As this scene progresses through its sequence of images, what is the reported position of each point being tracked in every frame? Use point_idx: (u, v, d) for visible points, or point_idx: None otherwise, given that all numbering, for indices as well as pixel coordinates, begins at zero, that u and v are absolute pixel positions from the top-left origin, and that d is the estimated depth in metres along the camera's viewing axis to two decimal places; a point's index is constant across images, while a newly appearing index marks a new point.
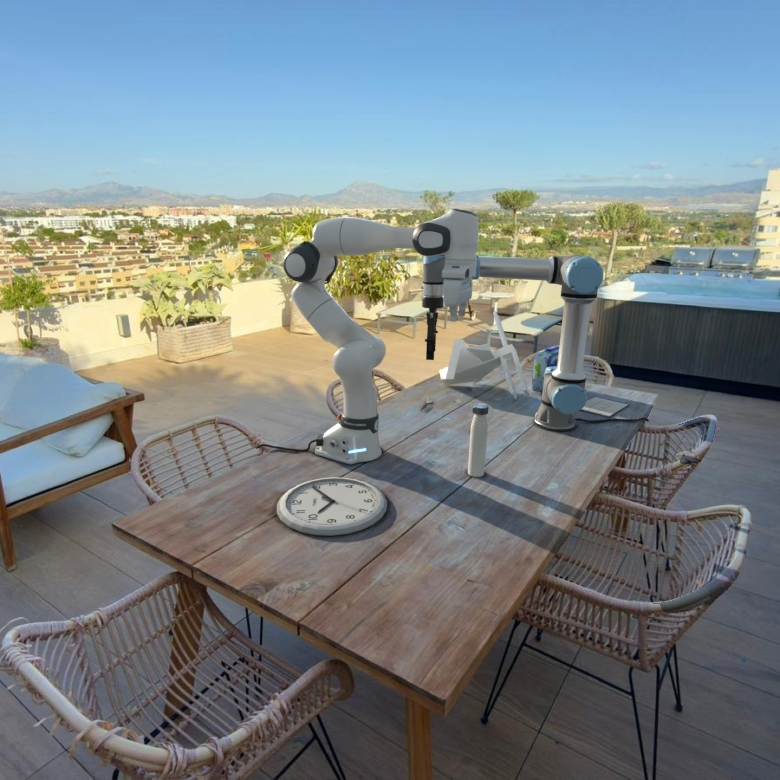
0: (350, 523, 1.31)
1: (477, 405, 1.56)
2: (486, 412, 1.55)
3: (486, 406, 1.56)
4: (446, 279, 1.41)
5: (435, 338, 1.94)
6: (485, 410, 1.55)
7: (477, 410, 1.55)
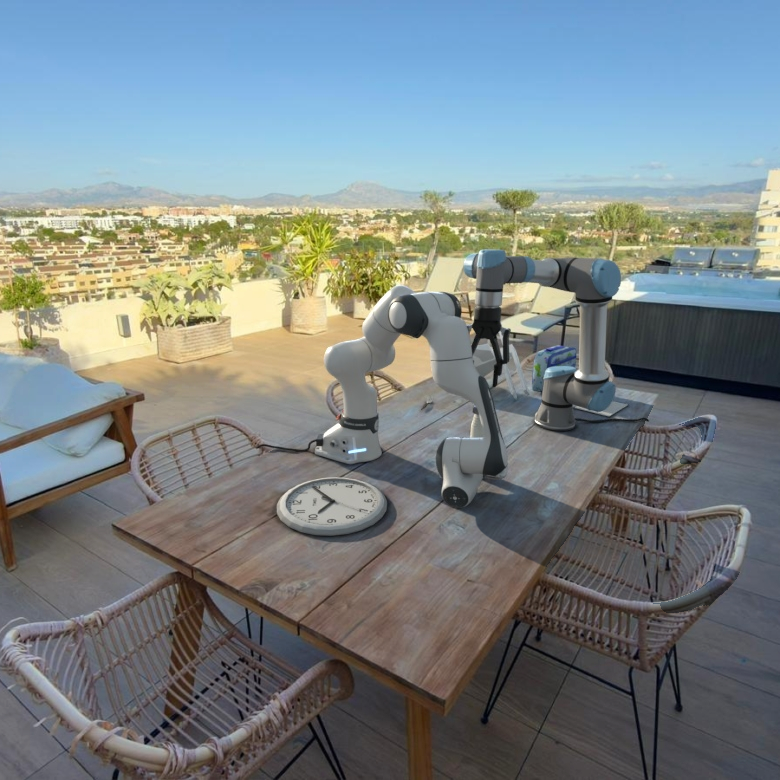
0: (350, 523, 1.31)
1: None
2: None
3: None
4: None
5: None
6: None
7: (477, 410, 1.55)
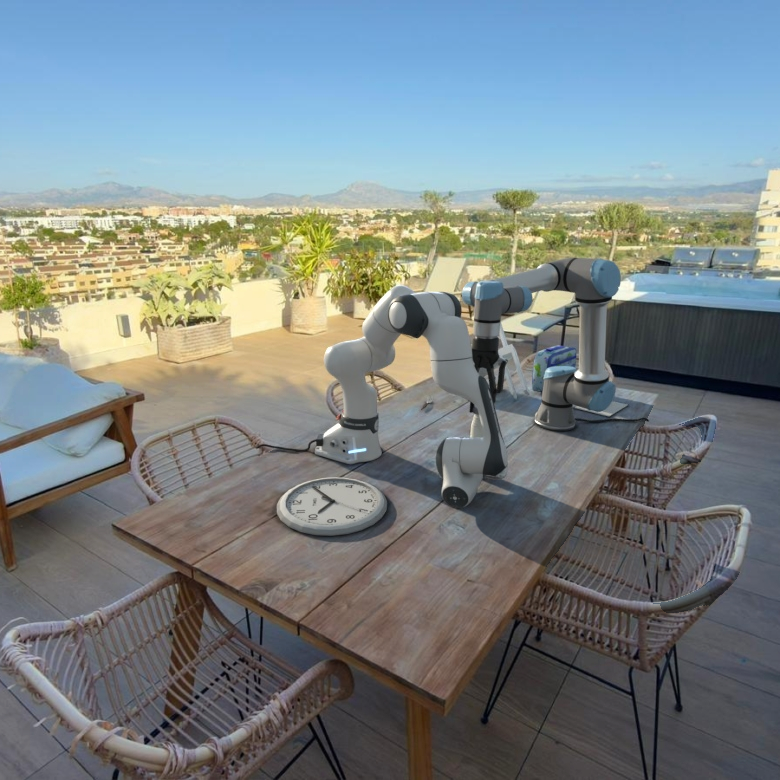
0: (350, 523, 1.31)
1: None
2: None
3: None
4: None
5: None
6: None
7: (477, 410, 1.55)
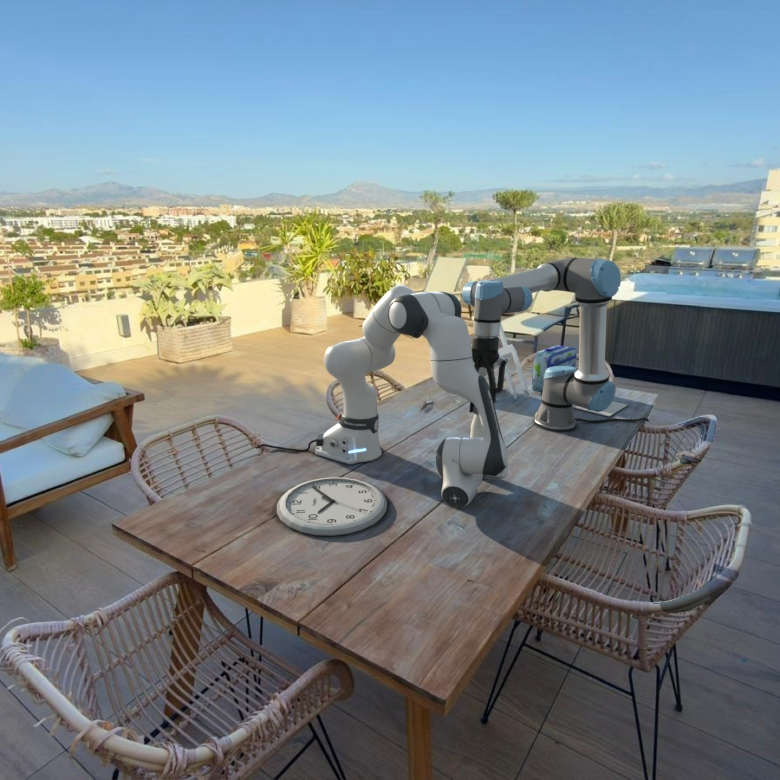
0: (350, 523, 1.31)
1: None
2: None
3: None
4: None
5: None
6: None
7: None
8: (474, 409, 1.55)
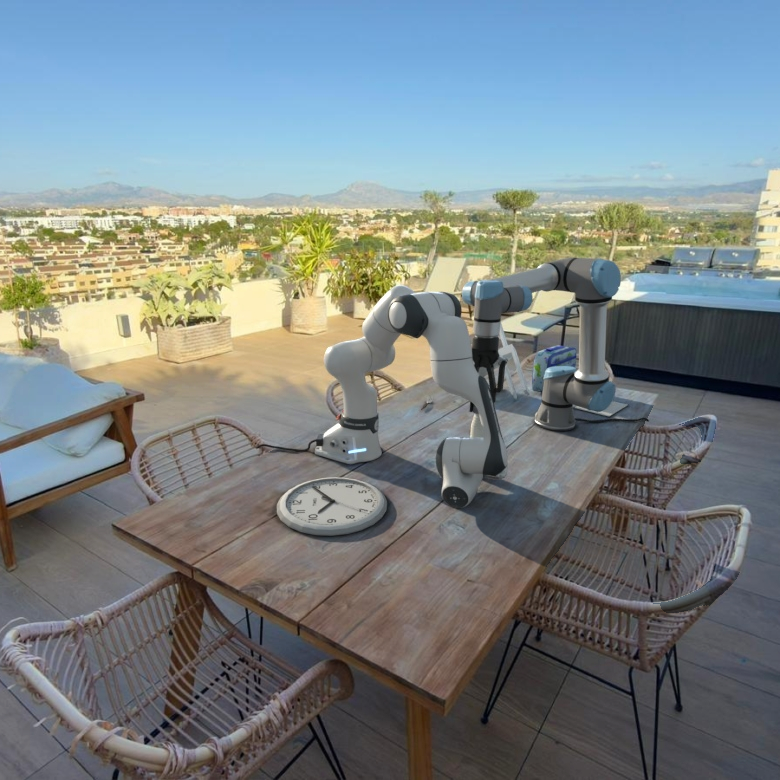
0: (350, 523, 1.31)
1: None
2: None
3: None
4: None
5: None
6: None
7: None
8: None
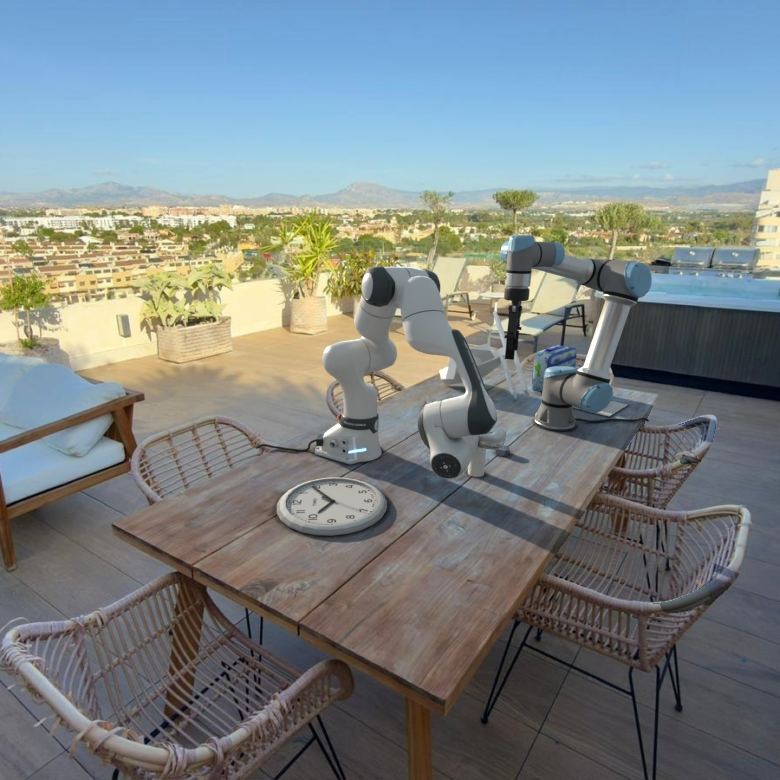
0: (350, 523, 1.31)
1: (500, 448, 1.77)
2: (509, 452, 1.77)
3: (507, 447, 1.77)
4: None
5: (518, 335, 1.71)
6: (509, 451, 1.76)
7: (503, 452, 1.75)
8: None
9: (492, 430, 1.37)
